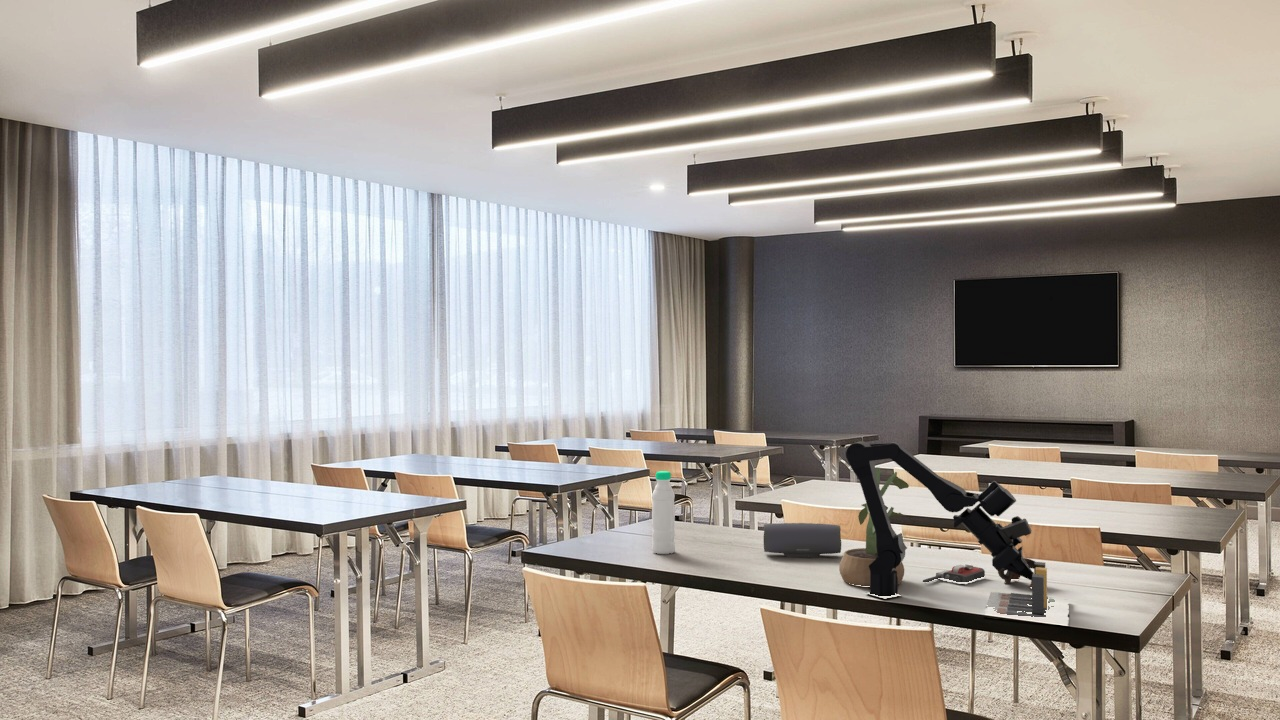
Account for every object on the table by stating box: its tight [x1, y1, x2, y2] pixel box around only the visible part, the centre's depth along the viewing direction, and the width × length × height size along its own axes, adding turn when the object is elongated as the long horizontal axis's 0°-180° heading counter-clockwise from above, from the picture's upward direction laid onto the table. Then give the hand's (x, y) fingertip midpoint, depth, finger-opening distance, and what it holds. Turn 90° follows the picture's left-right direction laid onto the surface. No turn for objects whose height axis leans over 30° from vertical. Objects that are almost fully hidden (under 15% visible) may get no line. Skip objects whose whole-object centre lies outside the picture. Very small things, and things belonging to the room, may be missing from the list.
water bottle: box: [651, 470, 676, 555], centre depth 289 cm, size 7×7×25 cm
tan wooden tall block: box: [1035, 567, 1048, 608], centre depth 220 cm, size 2×3×9 cm
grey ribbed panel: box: [985, 561, 1055, 617], centre depth 221 cm, size 18×22×10 cm
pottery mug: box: [997, 557, 1036, 588], centre depth 244 cm, size 12×10×8 cm
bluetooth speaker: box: [763, 522, 842, 558], centre depth 283 cm, size 23×9×10 cm, turn 84°
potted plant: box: [838, 466, 910, 586], centre depth 252 cm, size 22×18×30 cm
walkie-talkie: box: [922, 564, 986, 583], centre depth 250 cm, size 9×4×20 cm
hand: (1034, 579), depth 220 cm, fingers closed, pressing on tan wooden tall block
